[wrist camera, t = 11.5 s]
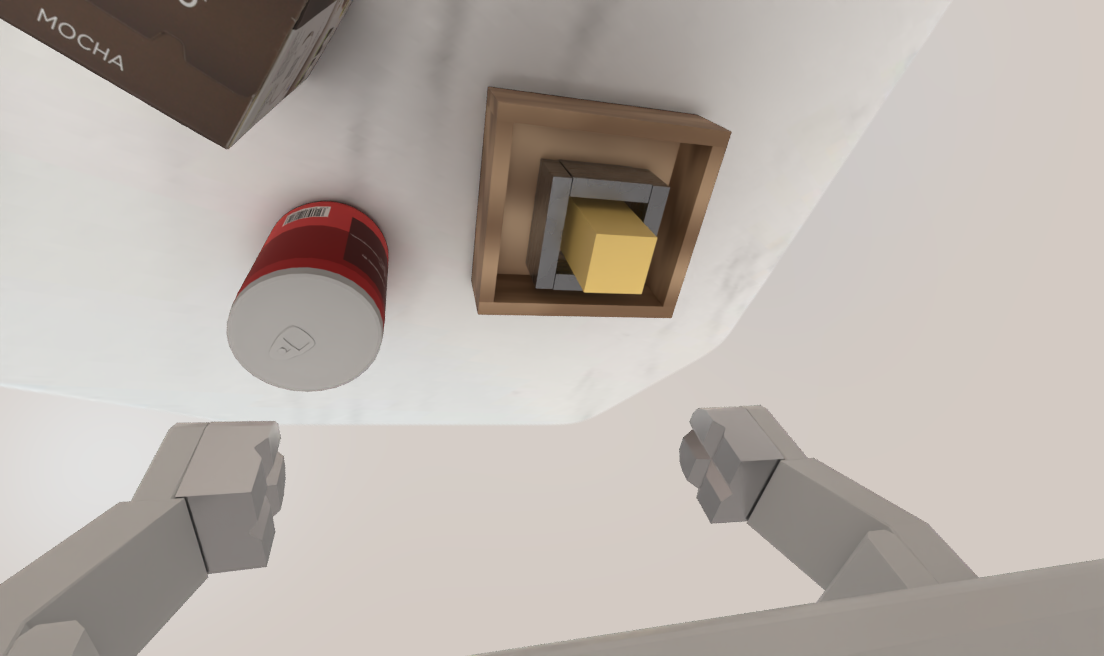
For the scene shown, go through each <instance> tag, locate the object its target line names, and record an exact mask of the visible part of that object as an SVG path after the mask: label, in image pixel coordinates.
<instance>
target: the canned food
mask: <svg viewBox="0 0 1104 656" xmlns="http://www.w3.org/2000/svg"><path fill="white" fill-rule="evenodd" d="M387 274H388V248H387V244H386V240H385V238H384V236H383V235H382V233H381V231H380V230H379V228H378V227H377V226H376V225H375V223H374V222H373V221H372V220H371V219H370V218H369V217H368V216H367V215H365V214H364V213H363V212H361V211H359V210H358V209H356V208H354V207H351V206H349V205H346V204H343V203H338V202H332V201H320V202H314V203H309V204H306V205H303V206H300V207H298V208H295V209H293V210H292V211H290V212H288V213H287V214H285V215H284V216H283V217H282V218H281V219H280V220H279V221H278V222H277V223H276V225H275V227H274V228H273V230H272V231H271V233H270V235H269V237H268V239H267V241H266V242H265V244H264V246H263V248H262V250H261V252H260V253H259V255H258V257H257V259H256V261H255V263H254V264H253V266H252V268H251V270H250V272H249V274H248V275H247V277H246V279H245V281H244V283H243V285H242V286H241V288H240V290H239V292H238V294H237V297H236V299H235V300H234V302H233V304H232V307H231V310H230V313H229V318H228V321H227V338H228V343H229V347H230V348H231V350H232V352H233V354H234V356H235V358H236V359H237V360H238V361H239V363H240V364H241V365H242V366H243V367H244V368H245V369H246V370H247V371H248V372H250V373H251V374H252V375H253V376H255V377H257V378H259V379H260V380H262V381H264V382H266V383H268V384H271V385H273V386H276V387H279V388H283V389H288V390H293V391H305V392H309V391H322V390H327V389H332V388H336V387H338V386H341V385H344V384H346V383H348V382H350V381H352V380H354V379H355V378H357V377H359V376H360V375H361V374H362V373H363V372H364V371H366V370H367V369H368V368H369V366H370V365H371V364H372V363H373V361H374V360H375V358H376V356H377V354H378V352H379V350H380V345H381V342H382V337H383V331H384V323H385V307H386V291H387Z"/></svg>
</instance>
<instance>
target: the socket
mask: <svg viewBox="0 0 1104 656" xmlns="http://www.w3.org/2000/svg"><path fill="white" fill-rule="evenodd" d="M669 190H670V187H669V186H668V185H667V184H666V183H665V182H663V181H662V180H661V179H660V178H658V177H657V176H656V175H655V174H654V173H652V172H651V171H650V170H649V169H642V168H633V167H631V166H621V165H611V164H601V163H591V162H581V161H571V160H562V159H559V161H558V160H552V159H543V158H541V159H540V166H539V173H538V179H537V186H536V193H535V200H534V207H533V214H532V221H531V228H530V235H529V242H528V249H527V256H526V266H527V268H528V271H529V273H530V276H531V278H532V281H533V283H534V286H535V288H539V289H553V290H577V291H583V290H582V288H581V286H580V284H579V282H578V281H577V279H576V277H575V275H574V273H573V271H572V270H571V268H570V266H569V264H568V262H567V260H566V259H565V257H564V255H563V253H562V251H559V250H560V245H561V239H562V233H563V228H564V222H565V217H566V211H567V205H568V200H569V196H570V197H582V198H594V199H606V200H619V201H625V203H626V204H627V206H628V207H629V208H630V209H631V210H632V211H633V212H634V213H635V214H636V215H637V216H638V217H639V218H640V220H641V221H642V222H643V223H644V224H645V225H646V226H647V227H648V228H649V229H650V230H651V231H652V232H653V233H654V235H655V236H656V237H657V233H658V230H659V226H660V223H661V219H662V215H663V212H664V208H665V205H666V201H667V198H668V194H669Z"/></svg>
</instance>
